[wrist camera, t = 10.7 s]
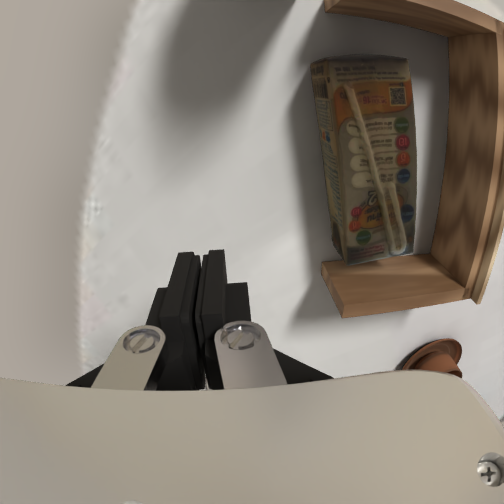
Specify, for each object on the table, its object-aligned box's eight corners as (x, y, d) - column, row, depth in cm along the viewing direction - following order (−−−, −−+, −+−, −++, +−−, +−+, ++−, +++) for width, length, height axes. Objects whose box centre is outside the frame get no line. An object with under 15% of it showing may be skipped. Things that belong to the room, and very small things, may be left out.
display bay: (440, 262, 37) (480, 303, 28) (321, 273, 36) (345, 326, 28) (461, 29, 23) (517, 24, 15) (324, -2, 23) (359, -33, 14)
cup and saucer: (468, 335, 44) (486, 359, 39) (430, 385, 49) (443, 409, 44) (422, 328, 42) (441, 356, 36) (381, 383, 47) (394, 412, 41)
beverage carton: (326, 242, 34) (345, 273, 29) (304, 61, 26) (323, 52, 20) (391, 230, 34) (419, 257, 28) (379, 58, 26) (413, 52, 20)
